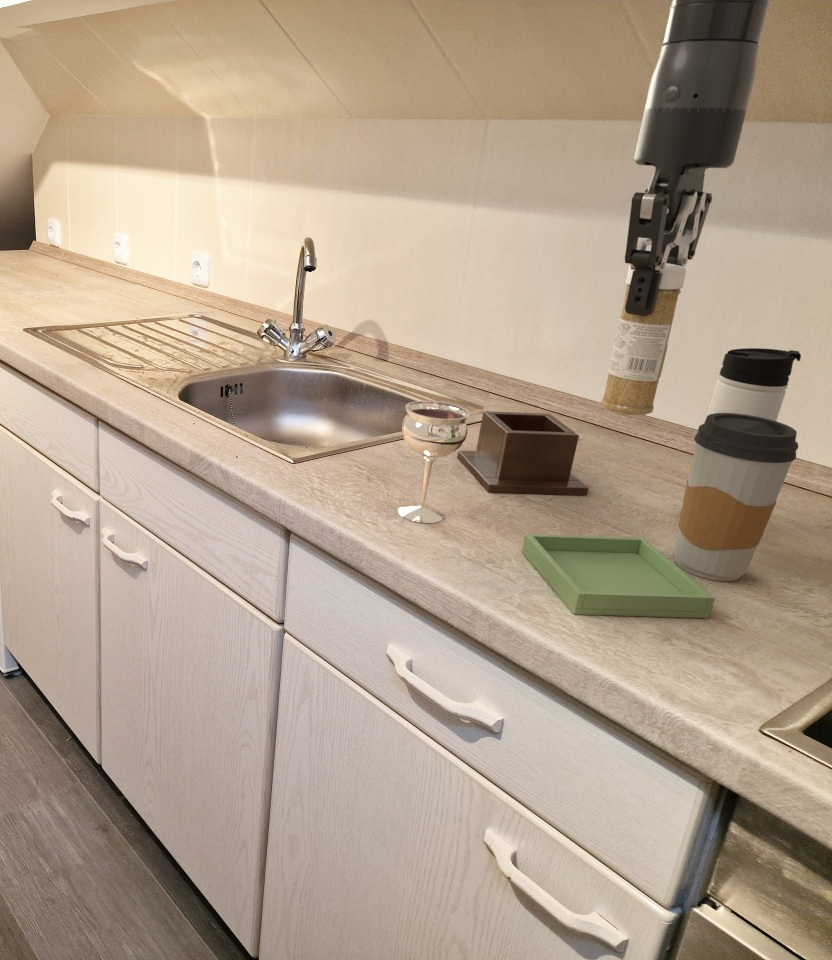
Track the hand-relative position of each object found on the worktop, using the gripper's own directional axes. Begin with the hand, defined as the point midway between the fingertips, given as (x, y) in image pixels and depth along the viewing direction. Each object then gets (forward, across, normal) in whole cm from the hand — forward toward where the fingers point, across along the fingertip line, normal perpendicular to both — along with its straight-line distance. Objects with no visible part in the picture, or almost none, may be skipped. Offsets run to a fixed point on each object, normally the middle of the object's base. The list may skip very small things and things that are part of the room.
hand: (648, 310), depth 77 cm
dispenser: (+25, +17, +15) cm, 33 cm away
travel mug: (+25, +20, -6) cm, 32 cm away
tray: (+25, -4, -3) cm, 26 cm away
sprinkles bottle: (+10, 0, 0) cm, 10 cm away
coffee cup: (+25, +7, -9) cm, 28 cm away
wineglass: (+25, -4, +17) cm, 31 cm away
